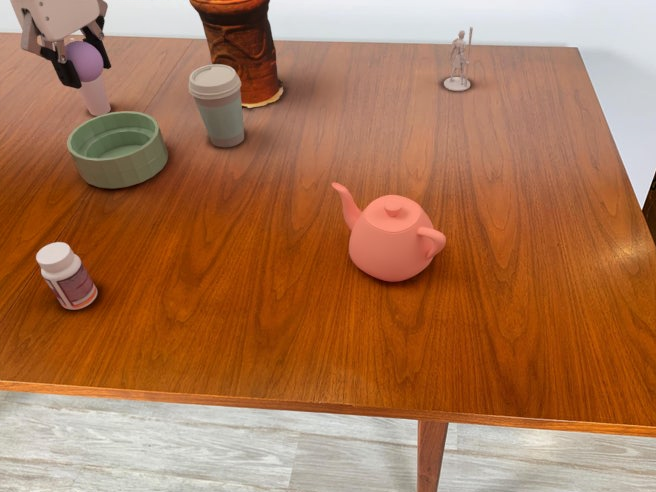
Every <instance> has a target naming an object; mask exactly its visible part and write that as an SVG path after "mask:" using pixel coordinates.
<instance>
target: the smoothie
mask: <svg viewBox="0 0 656 492" xmlns="http://www.w3.org/2000/svg"><path fill="white" fill-rule="evenodd" d="M69 40H70V42H74V41H75V39H74V37H70V38H69ZM81 84H82V87H81V88H79V89H76V92H77V93H78V95H79V97H80V98H81V100H82V101H83V104H85V107H86V108H87V110H88V111H89V113H90V114H91V115H92V116H95V117H97V116H100V115H104V114H108V113H110V111H111V109H112V108H111V105H110V104H111V103H110V100H109V97H108V92H107V89H106V85H105V80H104V76H103V72H102V73H101V75H100V76H99V77H98V78H97V79H96V80H94V81H91V82H81Z"/></svg>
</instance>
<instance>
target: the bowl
mask: <svg viewBox="0 0 656 492" xmlns="http://www.w3.org/2000/svg"><path fill="white" fill-rule="evenodd" d="M66 146H67V150H68V153H69V154H70V156H71V158H72V160H73V162H74V166H75V167H76V169H77V171H78V173H79V175H80V177H81V179H82V180H83V181H85V182H86V183H87V184H89V185H91V186H93V187H96V188H101V189H120V188H121V189H122V188H127V187H131V186H134V185H138V184H140V183H141V184H142V183H143V182H145V181H147V180H149V179H151V178H153V177H155V176H156V175H157V174H158V173H159V172H160V171H162V170H163V168H164V167H165V165H167V162H168V159H169V152H168V149H167V146H166V143H165V140H164V137H163V134H162V131H161V127H160V125H159V123H158V120H157V119H156V118H154V117H153V116H151V115H150V114H147V113H144V112H140V111H132V110H131V111H130V110H122V111H112V112H108V113H107V114H104V115H100V116H95V117H93V118H92V117H91V118H90V119H88V120H86V121H84V122H83V123H81V124H79V125H77V126H76V127H75V128H74V129H73V130H72V132H71V133H70V134H69V135H68V137H67V140H66Z"/></svg>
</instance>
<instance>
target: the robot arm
mask: <svg viewBox="0 0 656 492" xmlns="http://www.w3.org/2000/svg"><path fill="white" fill-rule="evenodd" d="M9 2H10V4H11V7H12V9H13V12H14V15H15V17H16V19H17V22H18V24H19V26H20V28H21V30H22V32H21V37H20V38H21V39H20V48H21V50H23V51H26V52H28V53H31V54H34V55H36V56H39V57H41V58H43V59H45V60H46V61H50V62H51V63H52V67H53V69H54V71H55V73H56V75H57V78H58V80H59V82H60V83H61V84H62V85H63V86H65V87H69V88H73V89H75V90H77V89H79V88H81V87H82V84H81V81H80V79H79V76H78V74H77V72H76V69H75V67H74V65H73V62H72V61H71V60H67V57H66V51H65V46H66V44H65V38H67V37H68V36H70V35H73V34H74V33H75V32H78V31H80V32H81V34H82V35H83V36H84V37H83V38H82V40H81V41H83V42H86V43H89V44H91V45H92V46H94V47H95V48H96V49H97V50H98V51H99V53H100V54H101V56H102V59H103V69H106V70H110V69H111V68H112V64H111V62H110V61H111V60H110V59H109V56H108V52H107V50H106V48H105V45H104V43H103V42H104V39H105V33H104V32H103V31H104V26H105V24H106V23H105V22H106V20H105V18H106V15H107V11H108V8H109V5H108V3H107V2H106V1H105V0H9ZM39 36H40V40H41V44H39V43H38V37H39ZM53 45H54V46H53Z"/></svg>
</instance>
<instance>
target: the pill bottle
mask: <svg viewBox="0 0 656 492" xmlns="http://www.w3.org/2000/svg"><path fill="white" fill-rule="evenodd" d="M35 260H36V262H37V263H38V265H39V267H40V273H41V276H42V278H43V279H44V281H45V282H46V283H47V285H48V286H49V289H50V290H51V291H52V293H53V294H54V296H55V297H56V298H57V301H58V302H59V303H60V305H61V307H62V308H64V309H65V310H66V309H67V310H72V311H76V310H81V309H84V308H85V307H88V306H89V305H90V304H92V303H93V302H94V301H95V300H96V298H97V296H98V289H97V287H96V285H95V282H94V281H93V279H92V278H91V276H90V274H89V271H88V270H87V269H86V267H85V265H84V263H83V262H82V260H81V258H80V257H79V255H78V254H76V253H74V251H73V250H72V248H71V246H70V245H69V244H68V243H66V242H63V241H56V242H51V243H48V244H46V245H45V246H43V247H42V248H40V249H39V251H38V252H37V253H36V254H35Z"/></svg>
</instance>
